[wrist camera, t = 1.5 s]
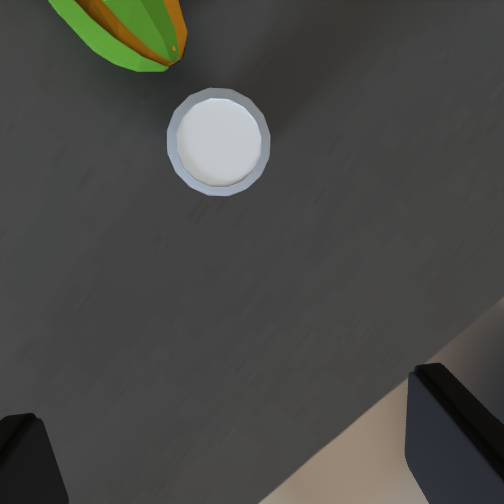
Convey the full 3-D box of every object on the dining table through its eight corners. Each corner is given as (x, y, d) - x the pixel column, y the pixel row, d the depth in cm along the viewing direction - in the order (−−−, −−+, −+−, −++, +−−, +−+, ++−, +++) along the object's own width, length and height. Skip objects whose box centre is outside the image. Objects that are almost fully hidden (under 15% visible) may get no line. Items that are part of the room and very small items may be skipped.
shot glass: (230, 201, 31) (231, 216, 24) (163, 154, 29) (145, 156, 22) (276, 135, 29) (291, 132, 23) (209, 82, 28) (204, 62, 21)
